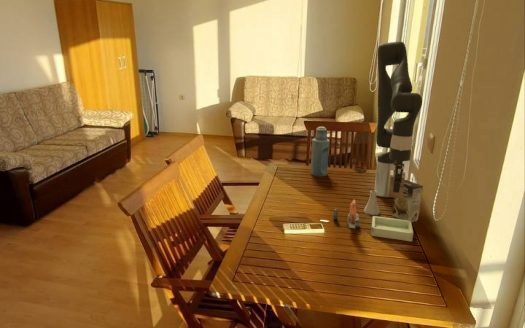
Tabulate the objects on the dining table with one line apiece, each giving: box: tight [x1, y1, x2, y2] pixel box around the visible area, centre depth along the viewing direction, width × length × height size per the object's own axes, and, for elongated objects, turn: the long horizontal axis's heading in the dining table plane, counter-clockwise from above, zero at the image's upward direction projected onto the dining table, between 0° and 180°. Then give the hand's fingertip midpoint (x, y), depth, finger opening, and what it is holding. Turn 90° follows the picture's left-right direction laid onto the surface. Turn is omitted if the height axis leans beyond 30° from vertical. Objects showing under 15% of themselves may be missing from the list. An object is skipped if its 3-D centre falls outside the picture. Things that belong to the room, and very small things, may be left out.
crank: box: [347, 199, 360, 229], centre depth 145 cm, size 12×4×11 cm, turn 162°
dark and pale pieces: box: [319, 208, 360, 229], centre depth 152 cm, size 6×16×5 cm, turn 72°
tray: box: [370, 215, 414, 242], centre depth 145 cm, size 12×15×3 cm
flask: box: [363, 190, 381, 216], centre depth 163 cm, size 7×7×10 cm
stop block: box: [387, 171, 406, 198], centre depth 140 cm, size 5×5×9 cm
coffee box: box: [391, 179, 424, 223], centre depth 157 cm, size 9×6×16 cm
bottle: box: [310, 126, 330, 178], centre depth 208 cm, size 10×10×30 cm
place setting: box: [351, 158, 367, 173], centre depth 222 cm, size 18×20×6 cm
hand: (395, 189), depth 141 cm, fingers closed on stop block, 5 cm apart
